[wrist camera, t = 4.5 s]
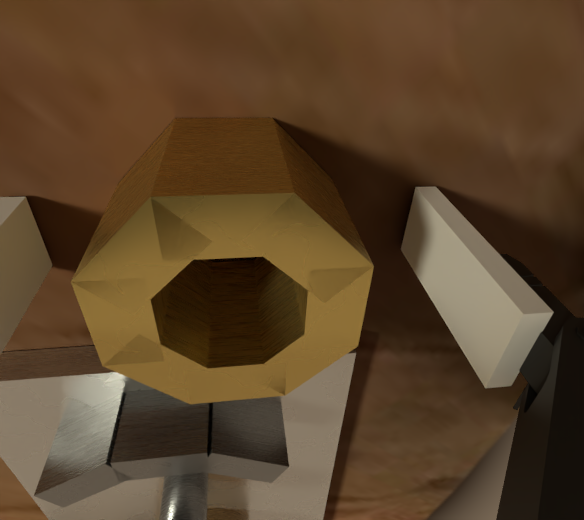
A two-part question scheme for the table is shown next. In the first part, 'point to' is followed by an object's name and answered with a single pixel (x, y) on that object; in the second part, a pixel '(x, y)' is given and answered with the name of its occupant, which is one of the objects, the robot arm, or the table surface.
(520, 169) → the table surface
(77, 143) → the table surface
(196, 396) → the gear
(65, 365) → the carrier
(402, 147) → the table surface
